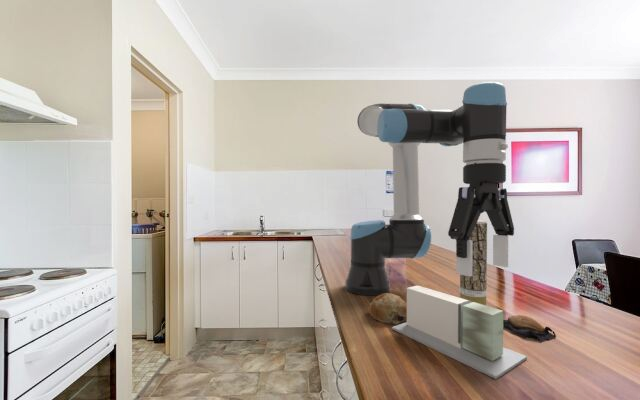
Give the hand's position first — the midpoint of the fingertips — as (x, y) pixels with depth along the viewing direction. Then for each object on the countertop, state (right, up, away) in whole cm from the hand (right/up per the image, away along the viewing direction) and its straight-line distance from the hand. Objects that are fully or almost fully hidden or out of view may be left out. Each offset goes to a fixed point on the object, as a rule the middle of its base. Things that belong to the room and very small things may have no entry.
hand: (483, 270), depth 60 cm
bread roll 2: (+16, -18, +12) cm, 27 cm away
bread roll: (-15, -17, +20) cm, 30 cm away
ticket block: (-4, -17, +6) cm, 19 cm away
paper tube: (+11, -17, +26) cm, 34 cm away
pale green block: (0, -16, 0) cm, 16 cm away
